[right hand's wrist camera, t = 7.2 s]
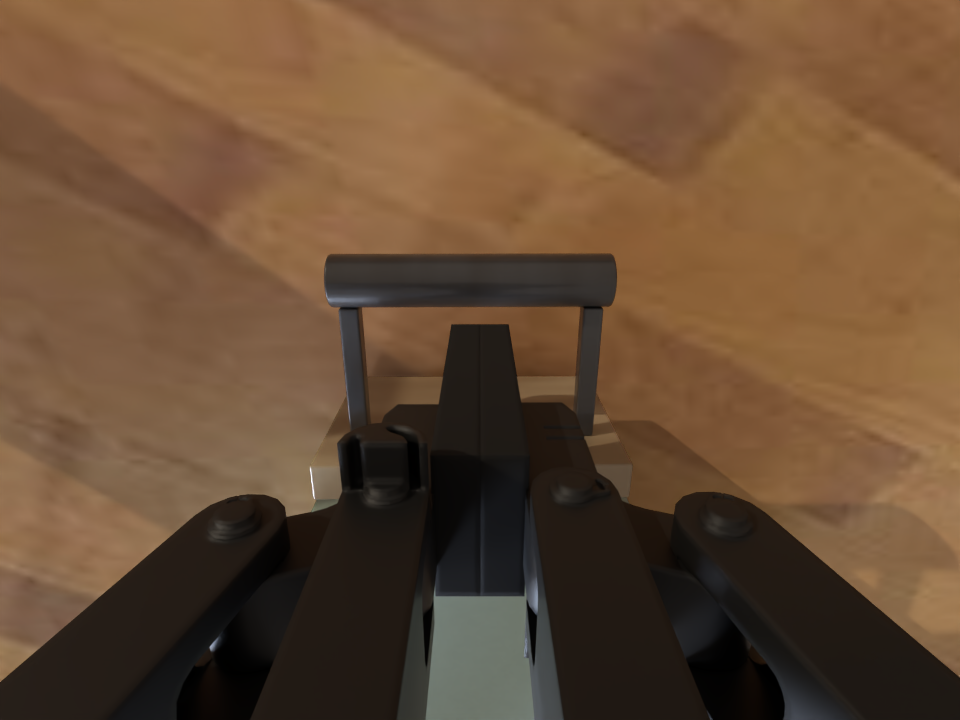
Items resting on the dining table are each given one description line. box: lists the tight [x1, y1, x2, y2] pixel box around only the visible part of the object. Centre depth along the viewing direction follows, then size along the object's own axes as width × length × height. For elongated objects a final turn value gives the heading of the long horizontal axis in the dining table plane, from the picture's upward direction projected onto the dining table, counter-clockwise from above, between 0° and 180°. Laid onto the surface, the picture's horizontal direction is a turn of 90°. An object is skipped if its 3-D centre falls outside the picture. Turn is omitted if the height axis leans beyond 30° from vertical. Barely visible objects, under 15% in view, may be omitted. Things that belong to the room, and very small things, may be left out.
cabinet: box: [311, 498, 629, 720], centre depth 24 cm, size 20×11×9 cm, turn 0°
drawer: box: [310, 254, 633, 499], centre depth 22 cm, size 25×10×7 cm, turn 0°
